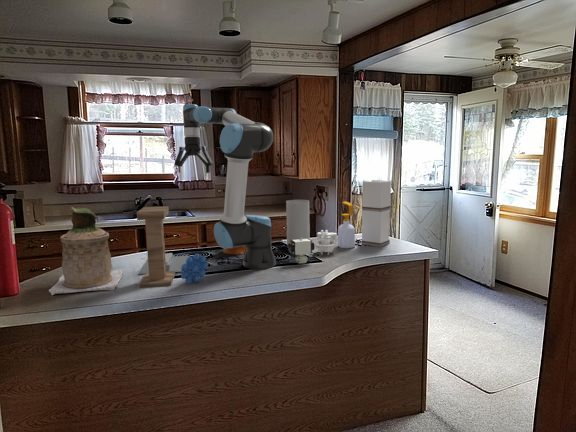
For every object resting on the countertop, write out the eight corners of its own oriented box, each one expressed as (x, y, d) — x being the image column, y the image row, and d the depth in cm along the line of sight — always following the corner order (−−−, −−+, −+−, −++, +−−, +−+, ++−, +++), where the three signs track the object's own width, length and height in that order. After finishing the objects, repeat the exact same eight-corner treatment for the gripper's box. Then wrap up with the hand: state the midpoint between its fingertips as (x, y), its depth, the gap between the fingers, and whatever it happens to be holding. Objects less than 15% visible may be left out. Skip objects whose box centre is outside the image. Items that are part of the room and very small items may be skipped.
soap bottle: (342, 244, 235) (343, 200, 231) (357, 245, 230) (358, 201, 226) (334, 247, 228) (334, 202, 224) (349, 249, 223) (350, 203, 219)
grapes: (204, 277, 178) (203, 249, 176) (211, 281, 172) (209, 253, 170) (177, 282, 171) (176, 254, 169) (183, 287, 166) (182, 257, 164)
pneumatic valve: (314, 262, 198) (314, 237, 196) (291, 265, 194) (290, 239, 192) (310, 259, 203) (310, 235, 201) (287, 262, 199) (287, 237, 197)
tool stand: (170, 285, 168) (166, 211, 163) (139, 287, 166) (133, 212, 161) (175, 274, 183) (171, 205, 179) (146, 275, 182) (141, 207, 177)
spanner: (169, 270, 187) (169, 264, 187) (155, 271, 186) (155, 265, 186) (174, 257, 209) (174, 252, 209) (162, 258, 208) (162, 253, 208)
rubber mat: (184, 272, 186) (184, 271, 186) (137, 275, 183) (137, 273, 183) (189, 256, 213) (189, 255, 213) (148, 258, 210) (148, 257, 210)
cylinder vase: (282, 246, 231) (281, 201, 227) (295, 242, 241) (294, 199, 237) (301, 249, 224) (301, 203, 220) (313, 245, 234) (313, 200, 230)
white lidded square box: (389, 243, 235) (390, 180, 229) (380, 246, 227) (381, 182, 221) (371, 240, 242) (372, 180, 236) (361, 244, 234) (362, 181, 228)
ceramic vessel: (215, 255, 216) (213, 226, 214) (242, 244, 239) (241, 218, 237) (237, 257, 210) (236, 228, 208) (263, 246, 233) (262, 219, 231)
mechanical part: (313, 256, 210) (313, 232, 208) (316, 250, 222) (315, 228, 220) (336, 256, 208) (336, 233, 206) (337, 250, 220) (337, 228, 218)
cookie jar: (118, 290, 164) (111, 208, 159) (47, 297, 157) (38, 212, 152) (123, 272, 187) (117, 201, 182) (62, 278, 180) (54, 204, 175)
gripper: (218, 136, 208) (220, 179, 212) (173, 137, 215) (176, 178, 218) (211, 135, 201) (213, 180, 204) (165, 137, 208) (168, 179, 211)
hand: (194, 179), depth 211 cm, fingers open, 13 cm apart
